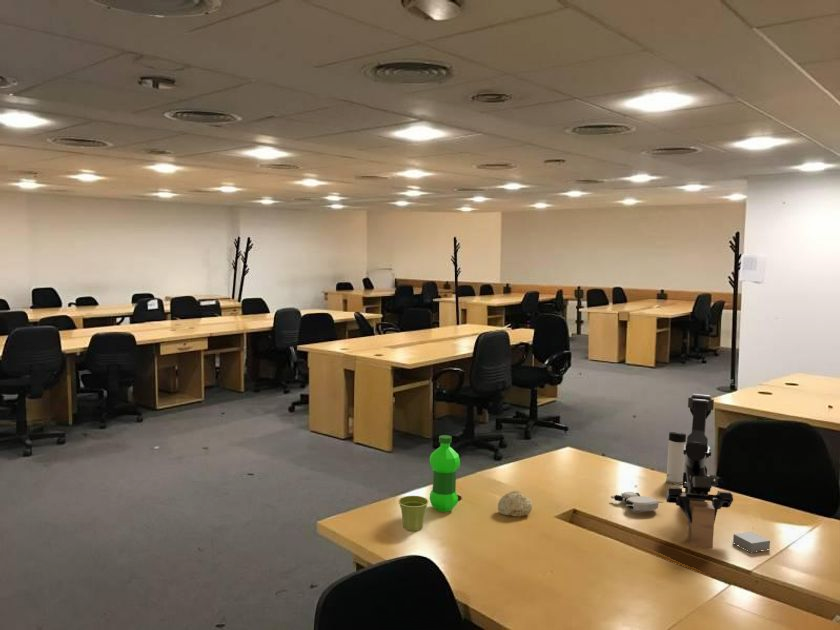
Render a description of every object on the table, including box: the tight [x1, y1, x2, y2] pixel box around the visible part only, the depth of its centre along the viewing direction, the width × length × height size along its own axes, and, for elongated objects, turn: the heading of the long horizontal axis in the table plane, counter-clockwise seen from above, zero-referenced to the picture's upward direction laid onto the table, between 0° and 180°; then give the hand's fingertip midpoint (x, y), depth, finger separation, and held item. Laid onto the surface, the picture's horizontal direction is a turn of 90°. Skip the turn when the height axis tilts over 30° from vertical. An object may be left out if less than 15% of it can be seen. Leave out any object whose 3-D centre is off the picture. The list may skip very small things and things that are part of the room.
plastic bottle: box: [429, 434, 461, 513], centre depth 226 cm, size 10×10×25 cm
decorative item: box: [497, 490, 533, 517], centre depth 224 cm, size 12×9×10 cm
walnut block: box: [687, 500, 715, 548], centre depth 204 cm, size 6×6×12 cm
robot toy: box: [610, 491, 665, 514], centre depth 232 cm, size 12×4×15 cm
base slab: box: [732, 531, 771, 553], centre depth 202 cm, size 7×7×3 cm
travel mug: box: [665, 431, 687, 485], centre depth 259 cm, size 6×7×20 cm
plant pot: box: [398, 495, 430, 532], centre depth 210 cm, size 9×9×9 cm
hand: (702, 523), depth 202 cm, fingers closed on walnut block, 6 cm apart
